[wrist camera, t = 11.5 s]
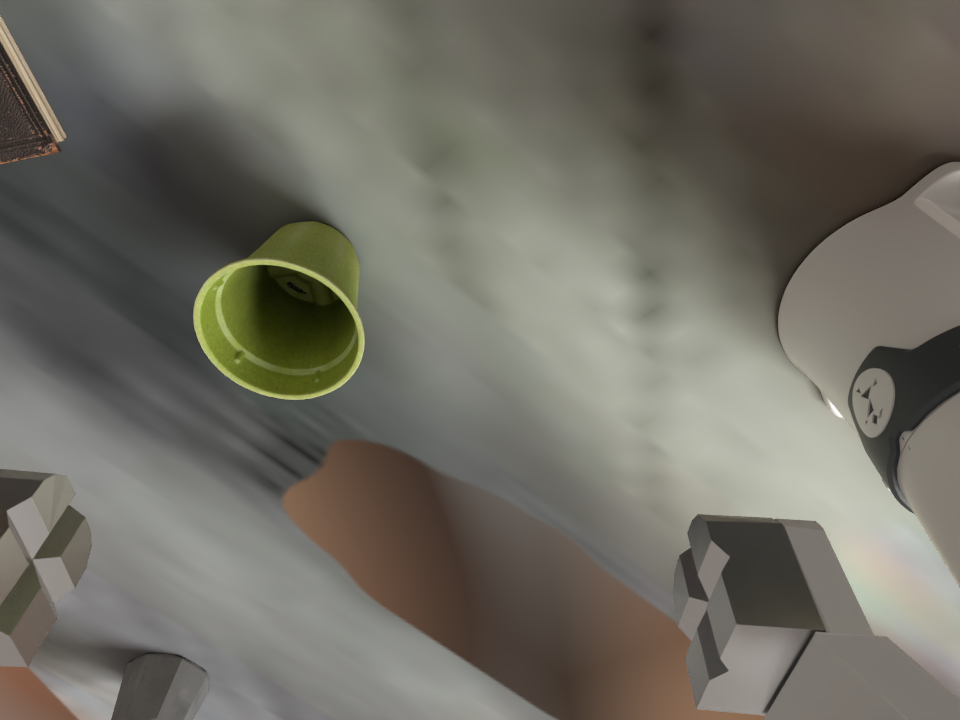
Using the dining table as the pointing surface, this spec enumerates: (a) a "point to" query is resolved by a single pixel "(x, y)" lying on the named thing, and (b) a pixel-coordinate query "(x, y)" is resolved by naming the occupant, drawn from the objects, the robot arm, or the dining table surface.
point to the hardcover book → (23, 108)
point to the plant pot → (285, 314)
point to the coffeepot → (161, 689)
